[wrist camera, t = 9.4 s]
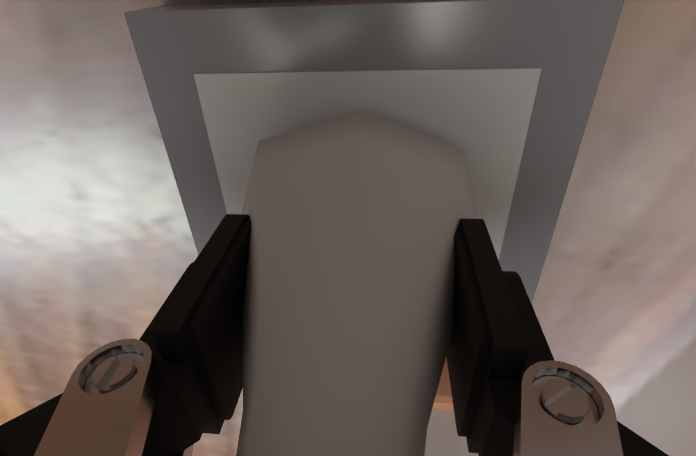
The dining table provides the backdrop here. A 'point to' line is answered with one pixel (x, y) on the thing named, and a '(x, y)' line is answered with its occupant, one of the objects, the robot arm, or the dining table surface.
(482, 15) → the slate pad
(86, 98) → the dining table surface
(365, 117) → the flask
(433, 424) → the salt shaker
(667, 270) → the dining table surface
